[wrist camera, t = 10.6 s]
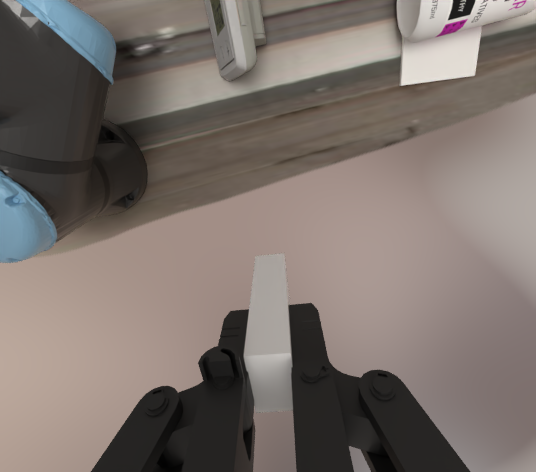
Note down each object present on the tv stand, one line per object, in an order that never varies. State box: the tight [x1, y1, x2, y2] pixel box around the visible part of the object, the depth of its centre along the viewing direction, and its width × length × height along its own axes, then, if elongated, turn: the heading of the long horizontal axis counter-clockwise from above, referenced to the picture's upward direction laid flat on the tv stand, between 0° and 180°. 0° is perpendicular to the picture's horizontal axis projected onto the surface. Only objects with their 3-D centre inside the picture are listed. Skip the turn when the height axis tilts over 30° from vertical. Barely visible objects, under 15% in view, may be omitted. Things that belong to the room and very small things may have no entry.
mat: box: [399, 26, 482, 86], centre depth 38 cm, size 10×16×1 cm, turn 7°
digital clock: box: [204, 0, 266, 81], centre depth 34 cm, size 16×9×11 cm, turn 179°
